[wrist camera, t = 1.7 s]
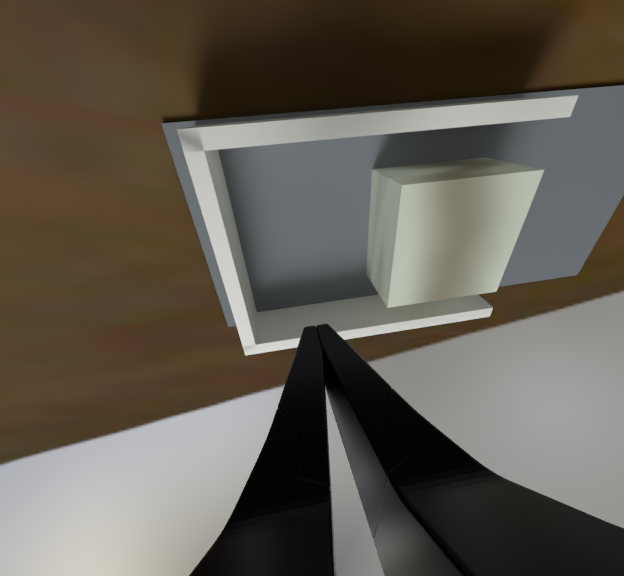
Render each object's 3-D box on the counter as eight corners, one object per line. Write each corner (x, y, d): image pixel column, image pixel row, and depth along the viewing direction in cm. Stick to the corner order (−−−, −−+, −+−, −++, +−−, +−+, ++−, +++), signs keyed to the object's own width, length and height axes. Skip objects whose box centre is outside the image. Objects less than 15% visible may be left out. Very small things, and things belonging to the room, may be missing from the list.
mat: (686, 79, 15) (690, 79, 15) (575, 273, 23) (577, 275, 22) (162, 123, 13) (161, 123, 13) (228, 325, 20) (228, 327, 20)
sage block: (486, 157, 16) (544, 169, 12) (457, 261, 20) (496, 291, 16) (372, 169, 15) (401, 185, 12) (366, 273, 19) (387, 307, 16)
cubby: (516, 98, 14) (579, 94, 12) (459, 289, 21) (489, 316, 19) (195, 125, 13) (176, 129, 10) (248, 320, 20) (245, 355, 17)
